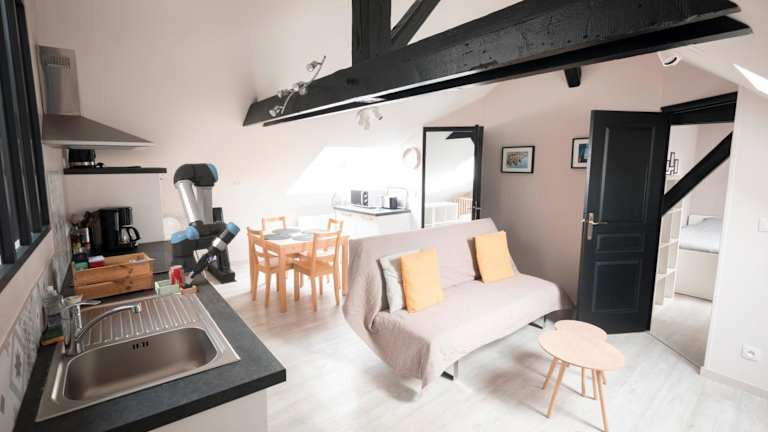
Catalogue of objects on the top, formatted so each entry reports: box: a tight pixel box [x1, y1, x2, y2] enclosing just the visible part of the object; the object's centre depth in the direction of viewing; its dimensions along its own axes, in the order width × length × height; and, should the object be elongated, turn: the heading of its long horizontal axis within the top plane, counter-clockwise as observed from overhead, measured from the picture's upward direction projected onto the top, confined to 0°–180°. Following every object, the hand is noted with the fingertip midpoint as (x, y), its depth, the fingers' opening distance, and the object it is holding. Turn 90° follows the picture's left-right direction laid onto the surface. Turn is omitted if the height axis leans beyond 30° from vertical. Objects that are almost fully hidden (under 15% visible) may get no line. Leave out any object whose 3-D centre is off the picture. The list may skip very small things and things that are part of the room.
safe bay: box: [154, 279, 180, 297], centre depth 197 cm, size 10×12×4 cm
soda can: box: [168, 265, 186, 290], centre depth 199 cm, size 7×7×12 cm
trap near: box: [179, 285, 198, 296], centre depth 195 cm, size 7×4×2 cm, turn 127°
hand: (186, 282), depth 201 cm, fingers closed
